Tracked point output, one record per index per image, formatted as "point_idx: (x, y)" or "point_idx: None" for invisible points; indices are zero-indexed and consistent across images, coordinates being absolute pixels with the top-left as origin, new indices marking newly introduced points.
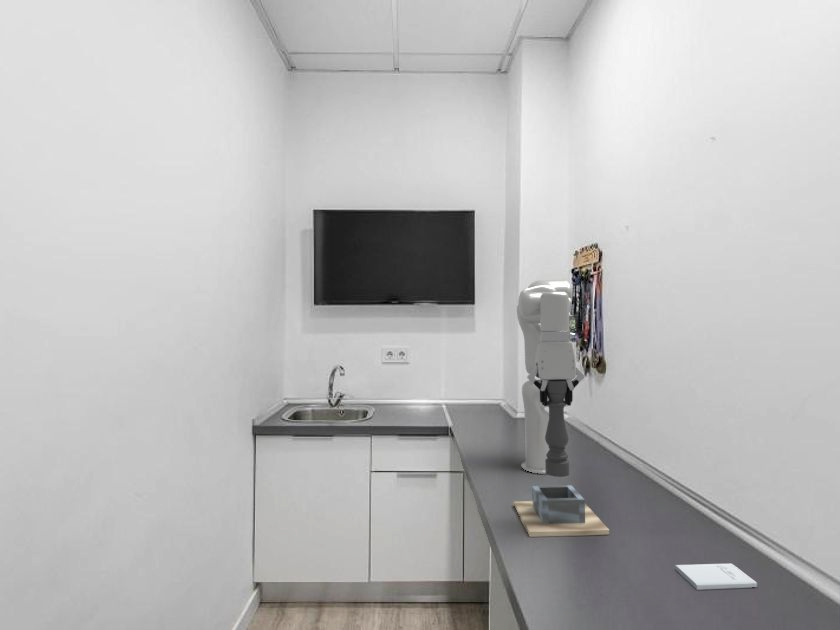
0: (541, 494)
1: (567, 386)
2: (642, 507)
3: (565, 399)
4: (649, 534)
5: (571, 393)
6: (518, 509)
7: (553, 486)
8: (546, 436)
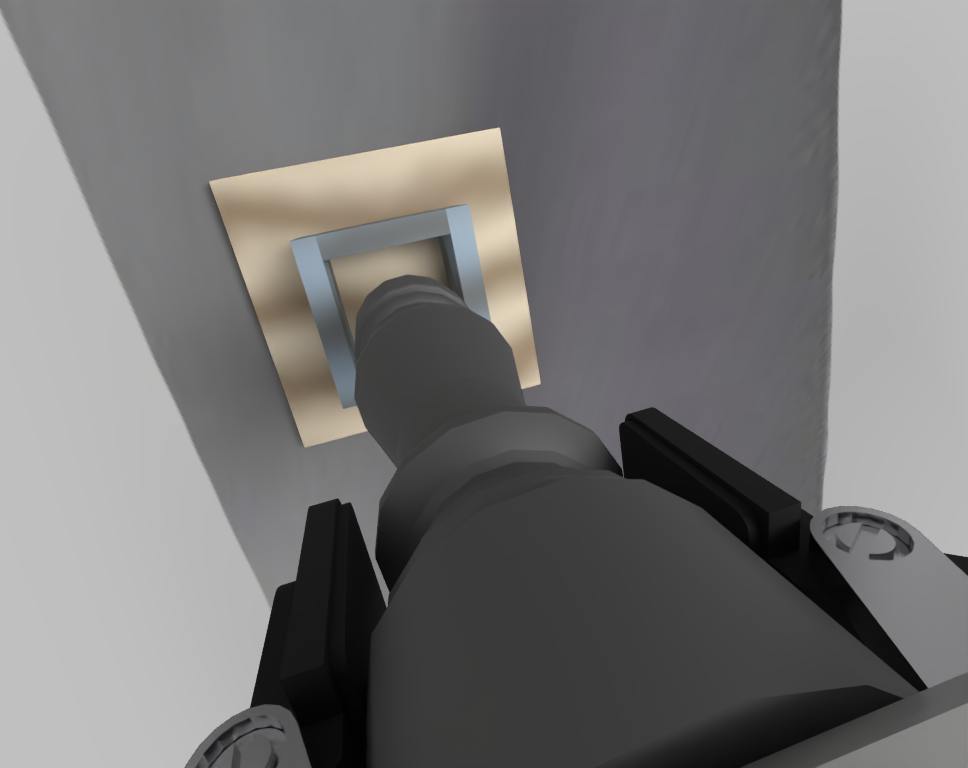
0: (337, 343)
1: (838, 617)
2: (690, 142)
3: (650, 476)
4: (638, 355)
5: None
6: (244, 267)
7: (389, 234)
8: (365, 422)
